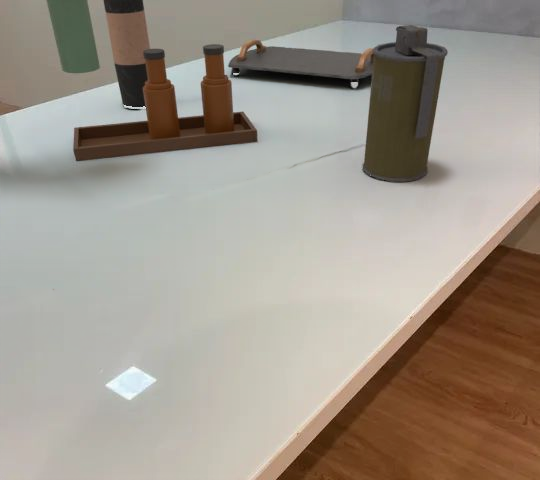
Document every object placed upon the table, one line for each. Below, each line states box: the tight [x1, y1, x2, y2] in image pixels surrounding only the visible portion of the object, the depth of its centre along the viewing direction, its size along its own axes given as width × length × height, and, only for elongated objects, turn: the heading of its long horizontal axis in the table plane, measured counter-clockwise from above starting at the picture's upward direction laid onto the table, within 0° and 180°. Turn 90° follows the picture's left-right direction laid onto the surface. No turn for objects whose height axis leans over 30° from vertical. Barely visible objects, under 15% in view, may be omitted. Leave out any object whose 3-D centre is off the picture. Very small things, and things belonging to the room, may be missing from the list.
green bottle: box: [45, 0, 101, 74], centre depth 78 cm, size 5×5×14 cm
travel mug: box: [102, 0, 151, 107], centre depth 114 cm, size 8×8×20 cm
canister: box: [362, 24, 449, 183], centre depth 84 cm, size 11×10×20 cm
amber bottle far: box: [200, 43, 234, 134], centre depth 98 cm, size 5×5×14 cm
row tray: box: [72, 111, 258, 162], centre depth 101 cm, size 32×12×3 cm, turn 104°
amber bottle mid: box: [143, 48, 180, 140], centre depth 97 cm, size 5×5×14 cm
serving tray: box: [227, 38, 374, 82], centre depth 137 cm, size 39×23×6 cm, turn 64°
